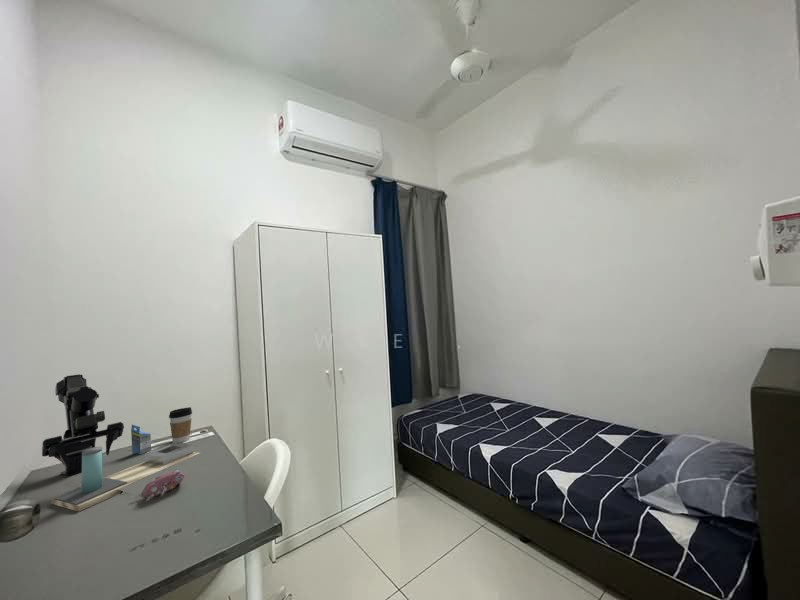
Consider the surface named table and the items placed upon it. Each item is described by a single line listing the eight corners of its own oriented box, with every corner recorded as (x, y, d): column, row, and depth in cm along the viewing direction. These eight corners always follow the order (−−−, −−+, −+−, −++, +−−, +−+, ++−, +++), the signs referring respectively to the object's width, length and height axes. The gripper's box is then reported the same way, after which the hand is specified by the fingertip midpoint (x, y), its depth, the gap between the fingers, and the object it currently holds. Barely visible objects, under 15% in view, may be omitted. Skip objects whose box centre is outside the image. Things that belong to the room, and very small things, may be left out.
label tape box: (152, 454, 124) (151, 423, 125) (139, 458, 121) (139, 426, 122) (143, 451, 129) (142, 421, 130) (130, 454, 125) (130, 424, 126)
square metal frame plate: (144, 462, 112) (144, 454, 113) (175, 450, 122) (175, 442, 123) (163, 465, 108) (163, 457, 109) (193, 452, 119) (193, 444, 119)
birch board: (51, 503, 91) (51, 498, 91) (175, 453, 123) (174, 449, 123) (79, 511, 85) (79, 506, 85) (200, 456, 118) (200, 452, 118)
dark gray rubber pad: (54, 499, 90) (54, 497, 90) (105, 478, 101) (105, 477, 101) (76, 505, 86) (76, 503, 86) (127, 483, 97) (127, 481, 97)
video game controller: (144, 506, 88) (147, 487, 87) (140, 495, 91) (143, 476, 90) (184, 490, 96) (187, 471, 95) (179, 480, 99) (182, 462, 97)
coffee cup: (184, 447, 130) (183, 411, 131) (164, 448, 130) (163, 412, 131) (197, 439, 138) (196, 405, 139) (178, 440, 138) (178, 407, 139)
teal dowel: (85, 488, 95) (85, 448, 96) (104, 484, 97) (104, 445, 98) (78, 495, 91) (79, 453, 92) (98, 490, 93) (98, 449, 94)
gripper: (43, 413, 95) (45, 457, 88) (122, 398, 110) (130, 435, 102) (40, 434, 99) (43, 478, 92) (117, 417, 114) (125, 454, 107)
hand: (88, 460), depth 98 cm, fingers open, 9 cm apart
